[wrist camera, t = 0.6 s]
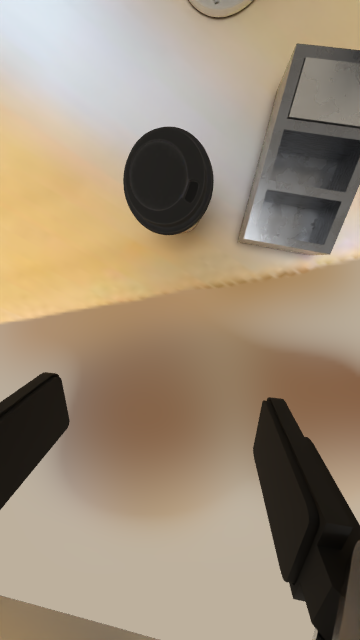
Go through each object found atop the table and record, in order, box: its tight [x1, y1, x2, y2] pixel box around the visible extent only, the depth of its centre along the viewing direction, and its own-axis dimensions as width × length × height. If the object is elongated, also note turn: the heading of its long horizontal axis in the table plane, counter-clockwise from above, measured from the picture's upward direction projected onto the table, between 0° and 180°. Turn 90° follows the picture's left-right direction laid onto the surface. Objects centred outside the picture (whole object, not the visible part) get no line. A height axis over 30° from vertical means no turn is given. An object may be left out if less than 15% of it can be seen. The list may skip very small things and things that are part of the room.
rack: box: [238, 44, 360, 255], centre depth 26 cm, size 20×12×6 cm, turn 170°
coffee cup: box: [123, 127, 213, 235], centre depth 25 cm, size 9×9×15 cm
